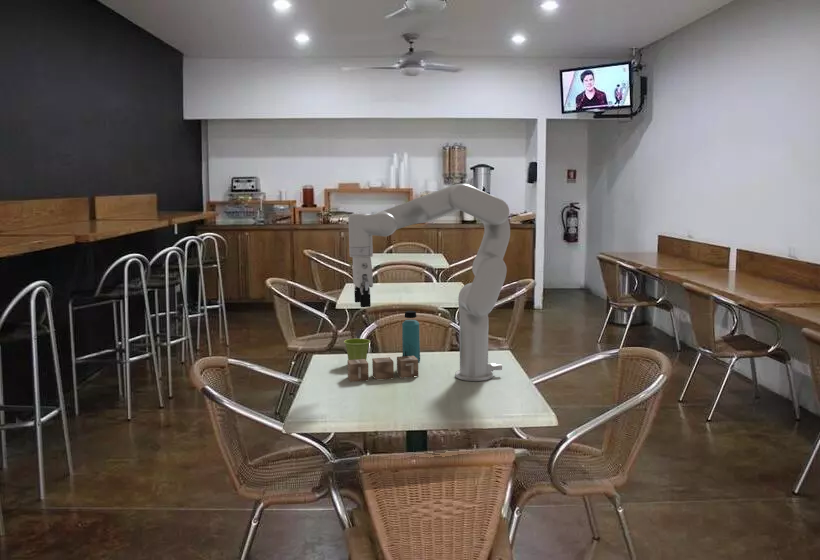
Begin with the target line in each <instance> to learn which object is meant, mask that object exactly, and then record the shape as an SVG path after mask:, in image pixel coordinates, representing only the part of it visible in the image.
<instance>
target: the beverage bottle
mask: <svg viewBox="0 0 820 560" xmlns="http://www.w3.org/2000/svg"><path fill="white" fill-rule="evenodd" d="M404 318H406V320H404V321H403V322H402V323H401V328H402V330H401V331H402V332H401V334H402V335H401V337H402V338H401V341H402V349H401V350H402V356H415V357H416V358H417V359H418V364H420V362H421V344H420V343H421V341H420V325H421V324H420V322H419V321H418V320H416V319H415V318H417V311H415V310H406V311H405V312H404Z"/></svg>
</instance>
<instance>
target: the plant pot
mask: <svg viewBox="0 0 820 560" xmlns="http://www.w3.org/2000/svg"><path fill="white" fill-rule="evenodd" d="M343 343H344V345H345V348H346V353H347V361H348V360H357V359H366V360H367V357H368V349H369V345H370V343H371V339H367V338H348V339H345V340H344V341H343Z"/></svg>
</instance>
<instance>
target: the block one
mask: <svg viewBox="0 0 820 560" xmlns="http://www.w3.org/2000/svg"><path fill="white" fill-rule="evenodd" d="M369 374H370V373H369V362H368V361H367V358H366V359H357V360H348V359H347V378H348V380H349V381H350V383H355V382H366V380H369V378H370V377H369ZM369 381H370V380H369Z"/></svg>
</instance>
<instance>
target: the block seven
mask: <svg viewBox="0 0 820 560" xmlns="http://www.w3.org/2000/svg"><path fill="white" fill-rule="evenodd" d="M396 374H397V375H398V377H401V378H400V379H405V378H404V377H410V378H415V377H414V376H418V377H419V363H418V359H417V358H416V357H415V356H403V355H401V356H397V357H396Z"/></svg>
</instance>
